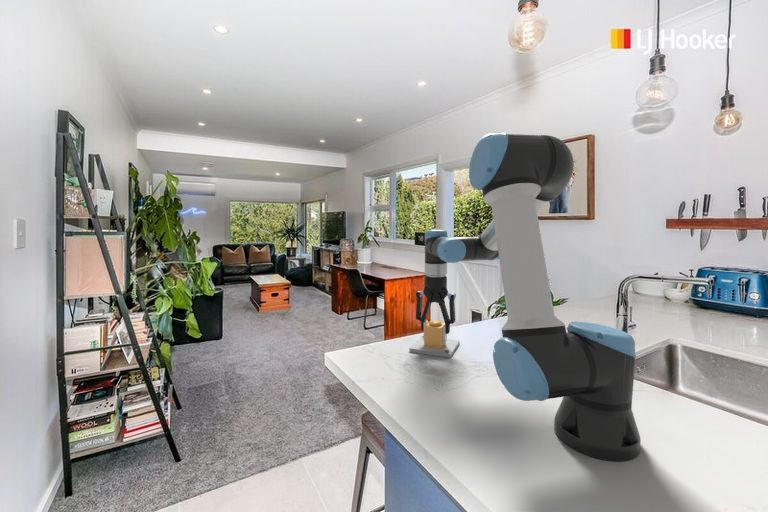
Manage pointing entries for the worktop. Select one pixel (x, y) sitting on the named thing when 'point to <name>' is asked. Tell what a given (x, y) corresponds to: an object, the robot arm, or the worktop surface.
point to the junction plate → (444, 351)
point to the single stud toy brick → (433, 334)
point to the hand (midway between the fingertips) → (435, 340)
